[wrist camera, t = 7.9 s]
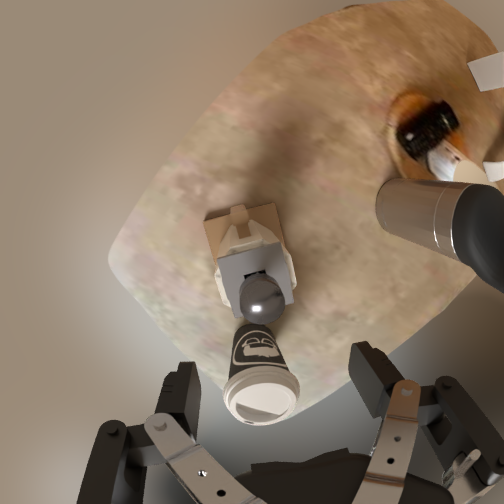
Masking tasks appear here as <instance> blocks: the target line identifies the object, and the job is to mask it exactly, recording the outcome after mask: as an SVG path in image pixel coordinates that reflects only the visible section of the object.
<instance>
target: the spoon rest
mask: <svg viewBox="0 0 504 504" xmlns="http://www.w3.org/2000/svg"><path fill="white" fill-rule="evenodd" d="M483 165H484V168H485V172H486V175H487V178H488V180H489V181H490V182H493V181H498V180H500V179H503V178H504V161H500V162H486V161H484V162H483Z"/></svg>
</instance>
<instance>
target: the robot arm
mask: <svg viewBox="0 0 504 504" xmlns="http://www.w3.org/2000/svg"><path fill="white" fill-rule="evenodd" d="M376 214H377V218H378V221H379V223H380V225H381V226H382V227H383V229H385V230H386V231H387V232H389V233H391V234H393V235H396V236H398V237H401V238H403V239H406V240H408V241H411V242H414V243H416V244H419V245H421V246H424V247H426V248H429V249H431V250H433V251H436V252H438V253H441V254H443V255H445V256H448V257H450V258H453V259H455V260H457V261H459V262H462V263H464V264H466V265H468V266H470V267H471V268H472V269H473V270H474V271H475V272H476V274H477V275H478V276H479V277H480V278H481V279H482V280H483V281H485V282H486V283H488V284H489V285H491V286H492V287H494V288H496V289H497V290H499V291H500V292H502V293H504V196H503V194H502V193H501V192H500V191H499V190H498V189H496V188H494V187H492V186H489V185H483V184H473V183H463V182H452V181H438V180H423V179H403V178H396V179H392V180H390V181H388V182H386V183H385V184H384V185H383V187H382V188H381V189H380V191H379V193H378V196H377V200H376ZM348 370H349V375H350V377H351V379H352V381H353V383H354V385H355V386H356V388H357V390H358V392H359V393H360V395H361V397H362V399H363V401H364V403H365V404H366V406H367V408H368V410H369V412H370V414H371V416H372V417H373V418H376V417H379V416H381V418H382V422H381V425H380V427H379V430H378V433H377V436H376V439H375V442H374V444H373V447H372V450H371V452H370V454H369V455H365V454H359V453H349V451H348V448H344V449H340V450H336V451H332V452H327V453H324V454H322V455H319V456H317V457H315V458H312V459H310V460H308V461H305V462H302V463H293V462H268V463H257V464H251V470H249V471H246V472H244V473H241V474H239V475H237V476H235V477H234V478H233V477H232V476H231V475H230V474H229V473H228V472H227V471H226V470H225V469H224V468H223V467H222V466H221V465H220V464H219V463H217V461H216V460H215V459H213V457H212V456H211V455H210V454H209V453H208V452H207V451H206V450H205V449H204V448H203V447H202V446H201V445H199V444H198V445H196V444H195V443H196V437H197V428H198V419H199V409H200V400H201V384H200V380H199V376H198V372H197V368H196V364H195V362H180V363H179V366H178V370H177V372H170V373H169V374H168V375H167V376H166V377H165V379H164V382H163V387H162V389H161V393H160V396H159V399H158V403H157V406H156V410H155V413H154V414H153V415H151V416H150V417H148V418H147V419H146V421H145V423H144V424H141V425H136V426H128V427H126V425H125V424H124V423H123V422H121V421H118V420H110V421H107V422H105V423H103V424H102V425H101V427H100V428H99V431H98V434H97V437H96V439H95V442H94V445H93V448H92V451H91V455H90V458H89V461H88V464H87V467H86V471H85V474H84V478H83V481H82V485H81V488H80V492H79V496H78V500H77V504H143V496H144V488H145V480H146V473H147V466H151V465H157V464H162V463H165V464H166V465H167V466H168V468H169V469H170V470H171V471H172V473H173V474H174V475H175V477H176V478H177V479H178V481H179V482H180V483H181V484H182V485H183V487H184V488H185V489H186V490H187V492H188V493H189V494H190V495H191V497H192V498H193V499H194V500H195V501H196V502H197V504H472V503H474V502H475V501H477V500H478V499H479V498H481V497H482V496H483V495H484V494H485V493H486V492H488V491H489V490H490V489H491V488H492V487H493V486H495V485H496V484H497V483H498V482H499V481H500V480H501V479H502V478H503V477H504V440H503V439H502V437H501V436H500V435H499V433H498V432H497V431H496V429H495V428H494V426H493V425H492V424H491V422H490V421H489V420H488V418H487V417H486V416H485V415H484V413H483V412H482V411H481V410H480V408H479V407H478V406H477V404H476V403H475V402H474V401H473V399H472V398H471V397H470V396H469V395H468V393H467V392H466V391H465V390H464V388H463V387H462V386H461V385H460V384H459V382H458V381H457V380H456V379H455V378H452V377H450V376H442V377H439V378H438V379H437V380H436V382H435V384H434V385H431V386H422V387H421V386H419V384H418V383H416V382H415V381H412V380H405V379H404V378H403V376H402V375H401V374H400V372H399V371H398V370H397V368H396V367H395V366H394V365H393V364H392V362H391V361H390V360H389V359H388V357H387V356H386V355H385V353H384V352H382V351H381V350H379V349H377V348H372V347H371V346H370V344H369V343H368V342H367V341H362V342H358V343H353V344H352V346H351V352H350V359H349V366H348ZM446 415H447V417H448V418H449V420H450V421H451V423H450V421H449V420H448V418H447V417H446ZM418 426H420V427H421V428H422V430H423V432H424V434H425V436H426V437H427V439H428V441H429V443H430V444H431V446H432V448H433V450H434V452H435V454H436V455H437V457H438V459H439V461H440V463H441V465H442V466H443V468H444V471H445V472H444V473H443V476H442V481H443V484H442V486H441V485H439V484H436V483H433V482H430V481H428V480H425V479H422V478H420V477H417V476H415V475H412V474H410V473H408V472H407V469H408V465H409V461H410V458H411V454H412V450H413V445H414V442H415V437H416V432H417V427H418Z"/></svg>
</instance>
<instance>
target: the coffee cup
mask: <svg viewBox="0 0 504 504" xmlns="http://www.w3.org/2000/svg"><path fill="white" fill-rule="evenodd" d="M299 394H300V385H299V382H298V380H297V378H296V377H295V376H294V375H293V374H292V373H290V371H289V369H288V367H287V365H286V363H285V361H284V358H283V356H282V354H281V352H280V350H279V347H278V345H277V343H276V341H275V338H274V336H273V334H272V332H271V331H270V329H269V328H267V327H266V326H264V325H261V324H248V325H245V326H243V327H241V328H240V329H239V330H238V331H237V332H236V334H235V336H234V340H233V348H232V356H231V364H230V371H229V379H228V382H227V383H226V385H225V387H224V389H223V399H224V402H225V405H226V406H227V408H228V409H229V411H230V412H231V413H232V414H233V416H234V417H235V418H236V419H238V420H239V421H241V422H244V423H246V424H250V425H268V424H273V423H276V422H279V421H281V420H283V419H284V418H286V417H287V416H289V415H290V414H291V413H292V411H293V410H294V408H295V406H296V403H297V401H298V398H299Z"/></svg>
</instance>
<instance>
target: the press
mask: <svg viewBox="0 0 504 504" xmlns="http://www.w3.org/2000/svg"><path fill="white" fill-rule="evenodd" d="M203 224H204V228H205V231H206V235H207V238H208V242H209V245H210V248H211V252H212V255H213V258H214V262H215V265H216V268H215V273H214V276H215V279H216V282H217V286H218V289H219V292H220V295H221V298H222V301H223V304H225V305H227V306H229V307H231V308H232V311H233V314H234V317H235V318H239V317H243V315H242V313H241V310H240V302H239V289H240V286H241V284H242V283H243V281H244V280H245V279H246V278H248V277H244V275H246V274H250V273H253V272H257V271H261V270H265V272H264V273H263V274H267V275H270V276H271V277H273V278H274V279H275V280H276V281H277V282H278V284H279V286H280V288H281V291H282V293H283V295H284V298H285V305H288V304H291V303H294V299H293V295H292V291H293V290H294V288H295V286H296V285H297V282H296V277H295V273H294V268H293V263H292V259H291V255H290V253H289V252H288V251H287V250H286V248H285V244H284V239H283V235H282V231H281V226H280V222H279V218H278V214H277V209H276V205H275V203H274V202H273V203H269V204H265V205H261V206H258V207H254V208H250V209H246V208H245V206H244V204H241V205H237V206H233V207H231V210H230V214H227V215H223V216H220V217H216V218H213V219H209V220H205V221H203Z"/></svg>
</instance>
